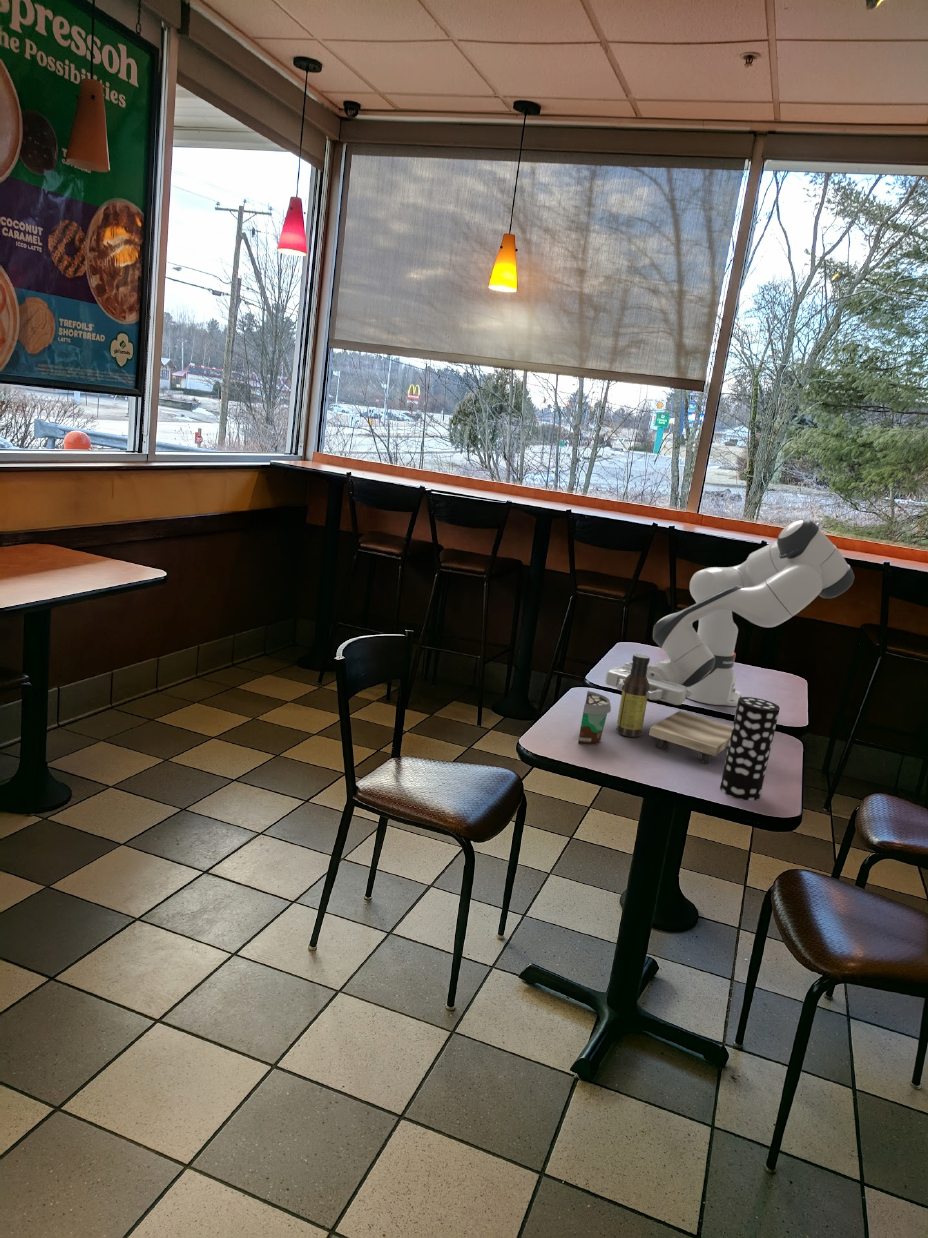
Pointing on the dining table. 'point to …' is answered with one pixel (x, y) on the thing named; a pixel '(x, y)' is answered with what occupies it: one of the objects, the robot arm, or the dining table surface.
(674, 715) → the dolly
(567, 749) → the dining table surface
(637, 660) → the sauce bottle
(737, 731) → the white-spotted black cylinder
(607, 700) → the food container
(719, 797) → the dining table surface
